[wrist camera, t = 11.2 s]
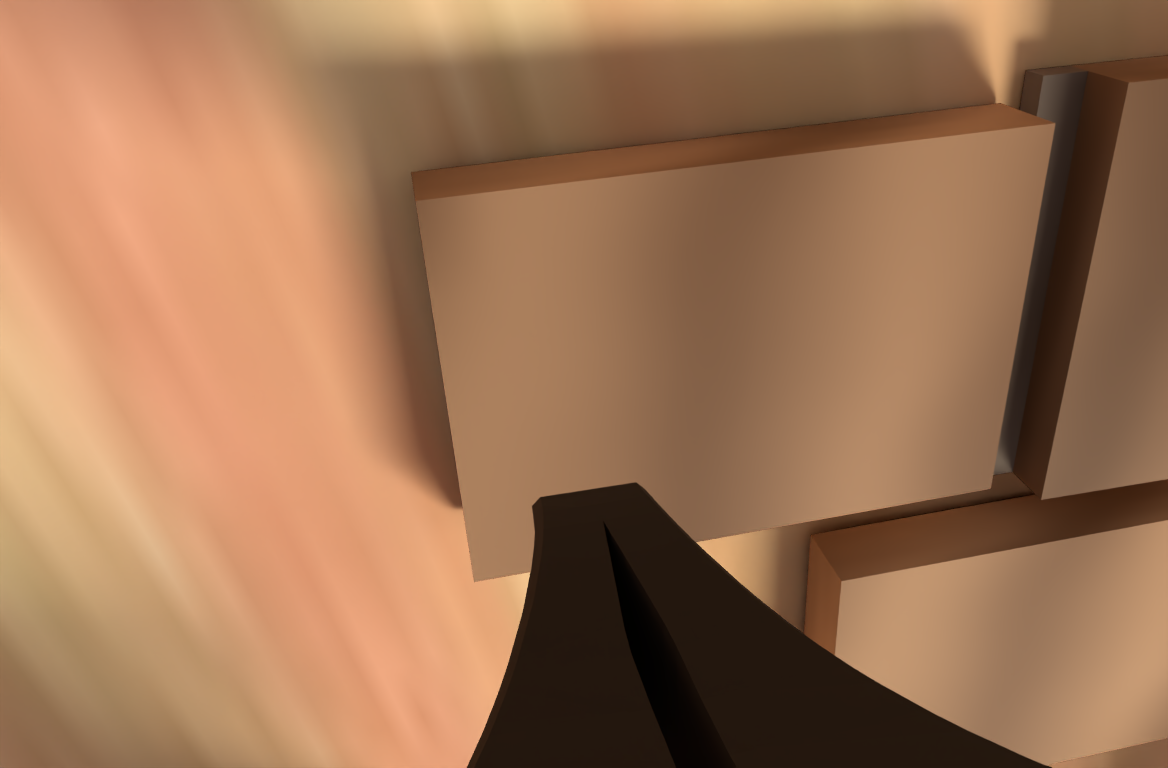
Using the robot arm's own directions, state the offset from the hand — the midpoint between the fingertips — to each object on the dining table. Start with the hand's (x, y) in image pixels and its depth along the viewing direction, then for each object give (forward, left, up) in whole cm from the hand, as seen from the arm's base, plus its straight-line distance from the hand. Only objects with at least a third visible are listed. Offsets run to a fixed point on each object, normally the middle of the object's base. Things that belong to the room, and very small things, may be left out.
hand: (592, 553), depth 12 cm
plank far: (+10, -8, -6) cm, 14 cm away
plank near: (+3, 0, -6) cm, 6 cm away
